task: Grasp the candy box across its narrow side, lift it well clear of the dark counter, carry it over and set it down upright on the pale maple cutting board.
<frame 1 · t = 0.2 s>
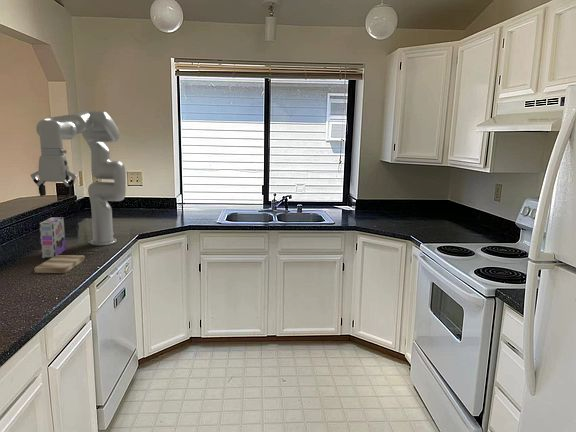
hand: (55, 195, 164), 31 cm above the worktop, tool pointing down, fingers open, 9 cm apart
cutting board: (61, 265, 175), on the worktop
candy box: (54, 254, 191), on the worktop
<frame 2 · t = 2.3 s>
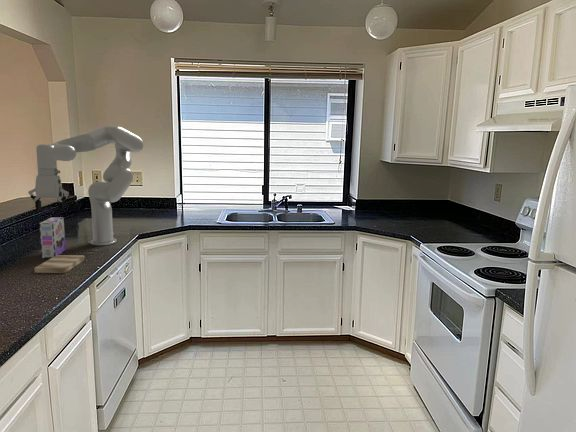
hand: (49, 210, 186), 21 cm above the worktop, tool pointing down, fingers open, 9 cm apart
nothing on the worktop moved.
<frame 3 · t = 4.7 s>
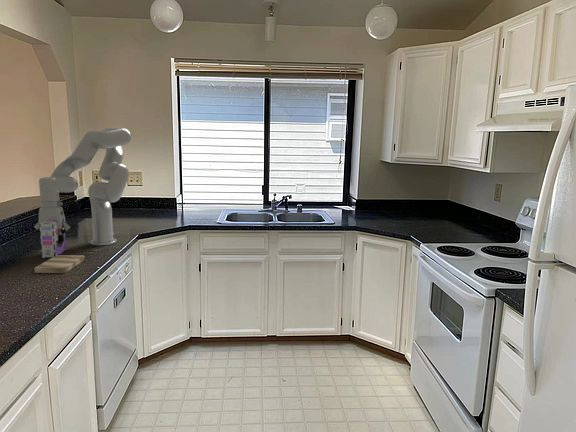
hand: (53, 242, 189), 6 cm above the worktop, tool pointing down, fingers closed on candy box, 6 cm apart
candy box: (54, 254, 191), on the worktop, touching gripper
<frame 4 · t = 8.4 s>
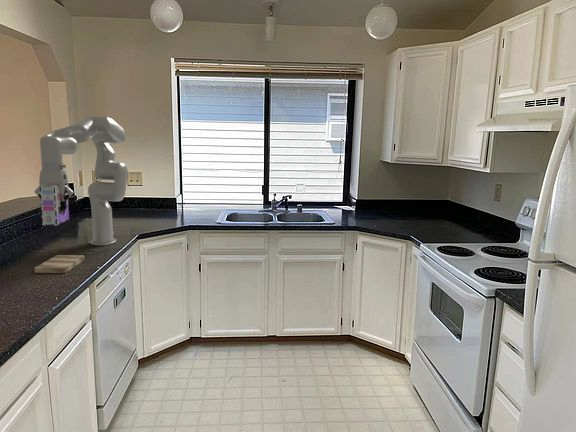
hand: (55, 209, 172), 24 cm above the worktop, tool pointing down, fingers closed on candy box, 6 cm apart
candy box: (56, 223, 173), point 18 cm above the worktop, touching gripper
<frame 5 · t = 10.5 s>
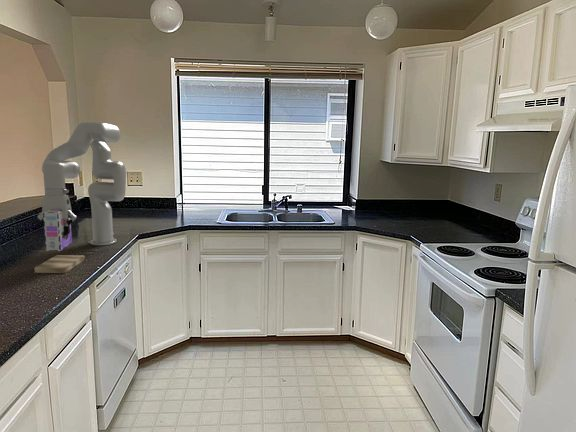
hand: (58, 234, 172), 14 cm above the worktop, tool pointing down, fingers closed on candy box, 6 cm apart
candy box: (59, 247, 173), point 8 cm above the worktop, touching gripper
when the fingers open (9 cm above the worktop, at t = 12.3 s): candy box drops 1 cm, resting on cutting board.
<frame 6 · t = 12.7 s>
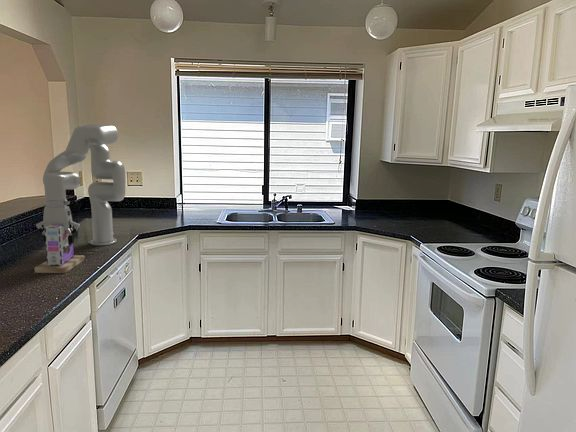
hand: (59, 243, 173), 10 cm above the worktop, tool pointing down, fingers open, 9 cm apart
candy box: (61, 261, 174), point 2 cm above the worktop, touching cutting board
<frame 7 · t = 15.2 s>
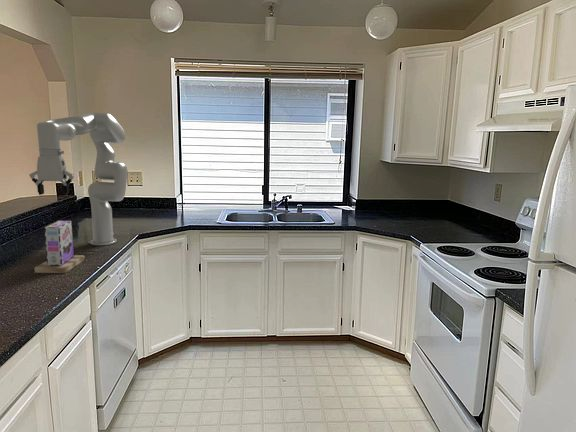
hand: (53, 194, 171), 30 cm above the worktop, tool pointing down, fingers open, 9 cm apart
nothing on the worktop moved.
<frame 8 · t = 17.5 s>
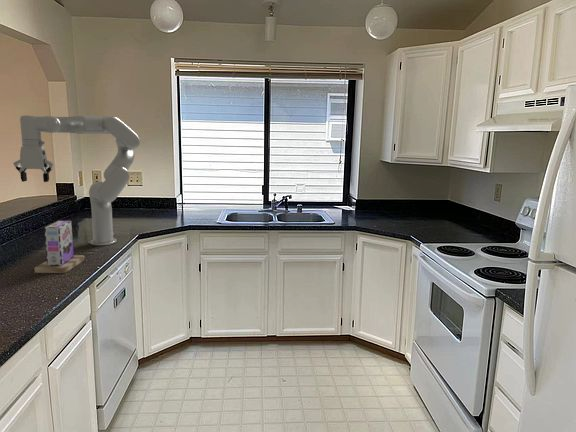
hand: (35, 181, 188), 33 cm above the worktop, tool pointing down, fingers open, 9 cm apart
nothing on the worktop moved.
at the end: candy box inside the target area on the cutting board (0.2 cm from its centre), point 1.8 cm above the cutting board's base; candy box tilted 0°; the gripper is holding nothing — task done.
